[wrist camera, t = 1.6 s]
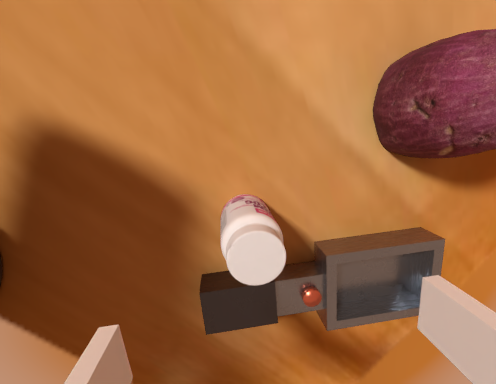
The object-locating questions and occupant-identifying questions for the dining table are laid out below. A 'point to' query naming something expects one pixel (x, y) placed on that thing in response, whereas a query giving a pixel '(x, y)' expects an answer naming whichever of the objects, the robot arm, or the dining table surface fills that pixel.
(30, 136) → the dining table surface
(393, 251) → the shallow gray tray
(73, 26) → the dining table surface
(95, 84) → the dining table surface
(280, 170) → the dining table surface
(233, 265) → the pill bottle
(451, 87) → the vegetable
